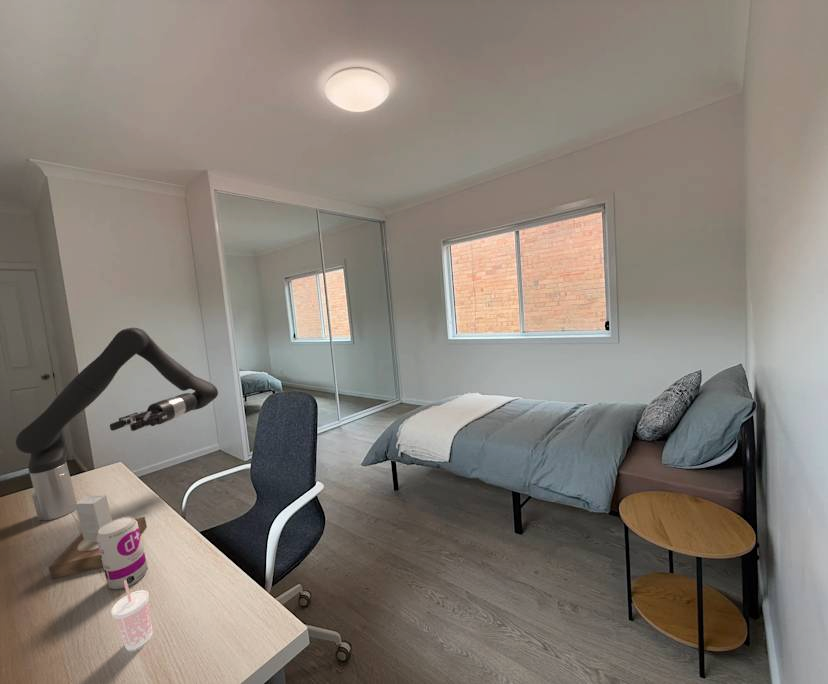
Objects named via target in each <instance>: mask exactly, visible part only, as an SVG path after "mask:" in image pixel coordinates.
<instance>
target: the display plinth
mask: <svg viewBox="0 0 828 684" xmlns="http://www.w3.org/2000/svg"><path fill="white" fill-rule="evenodd" d="M134 519H135V520H136V521H137V523H138V527H139V532H140V536H141V537H142V535H143V533H144V532H145V531H146V529H148V526H147V521H146V517H145V516H141V517H138V518H134ZM141 534H142V535H141ZM102 567H103V564H102V560H101V556H100V552H99V548H98V544H97V542H85V541H84V538H83V534H82V532H81V533H80V534H79V535H78V536H77V537H76V538H75V539H74V540H73V541H72V542H71V543H70V544H69V545H68V546H67V547H66V548H65V549H64V550H63V552H61V554H59V556H57V557H56V558H55V559H54V560H53V562H51V564H50V565H49V566H48V570H49V574H50V578H51V580H53V579H57V578H63V577H67V576H70V575H74V574H78V573H82V572H86V571H91V570H96V569H99V568H102Z"/></svg>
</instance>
